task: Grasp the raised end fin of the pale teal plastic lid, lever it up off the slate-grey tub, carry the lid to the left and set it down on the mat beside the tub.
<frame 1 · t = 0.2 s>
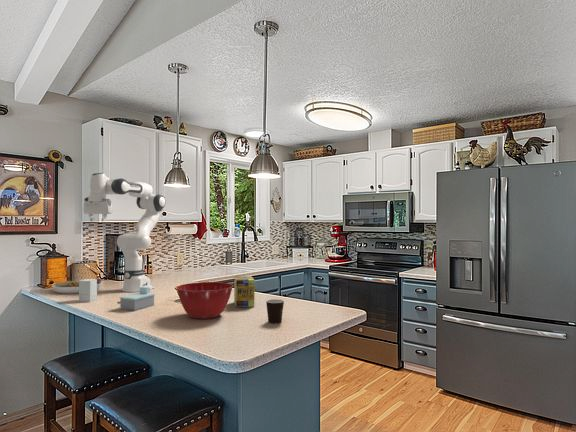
hand: (97, 221, 241), 48 cm above the countertop, fingers open, 8 cm apart
bowl: (77, 291, 269), on the countertop
block a: (140, 305, 221), point 1 cm above the countertop, touching tub
mat: (134, 301, 234), on the countertop
protein box: (244, 305, 227), on the countertop
tub: (137, 307, 219), on the countertop
block b: (134, 307, 216), point 1 cm above the countertop, touching tub
supplement box: (87, 301, 235), on the countertop
lid: (137, 296, 219), point 6 cm above the countertop, touching tub
mixing bowl: (204, 316, 201), on the countertop
coffee mug: (276, 321, 191), on the countertop
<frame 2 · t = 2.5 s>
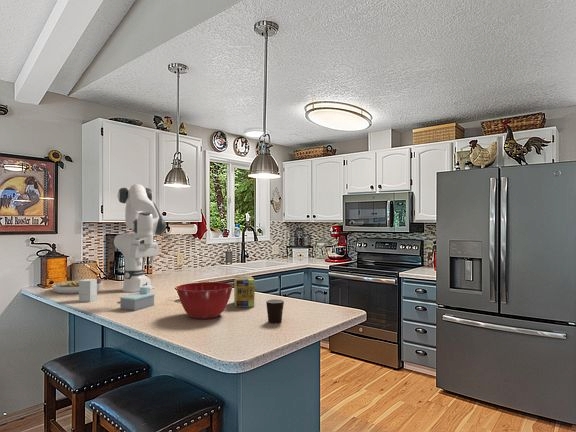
hand: (144, 264, 224), 23 cm above the countertop, fingers open, 8 cm apart
nothing on the countertop moved.
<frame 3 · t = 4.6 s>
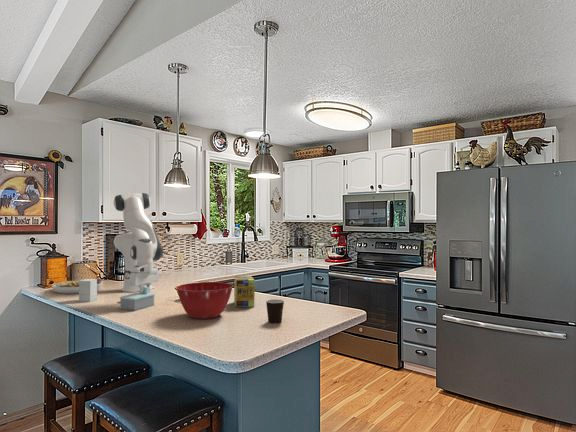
hand: (144, 291, 224), 8 cm above the countertop, fingers closed on lid, 2 cm apart
lid: (137, 296, 219), point 6 cm above the countertop, touching gripper, tub
everything else where it was.
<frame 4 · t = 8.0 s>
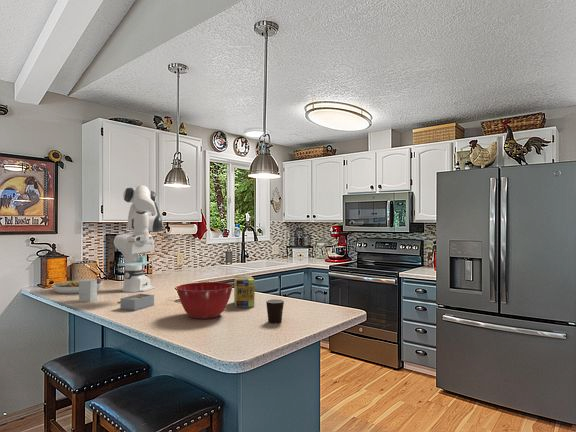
hand: (140, 260, 238), 24 cm above the countertop, fingers closed on lid, 2 cm apart
lid: (134, 264, 233), point 22 cm above the countertop, touching gripper
everything else where it was.
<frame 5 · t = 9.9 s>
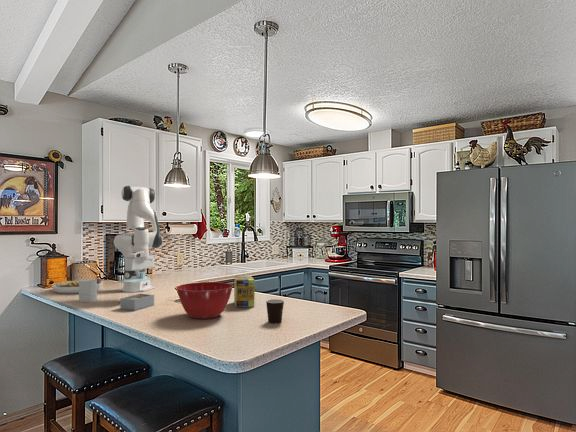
hand: (140, 276, 239), 14 cm above the countertop, fingers closed on lid, 2 cm apart
lid: (134, 280, 234), point 12 cm above the countertop, touching gripper
everything else where it was.
when the fingers open (7 cm above the countertop, at t = 11.2 s): lid drops 5 cm, resting on mat.
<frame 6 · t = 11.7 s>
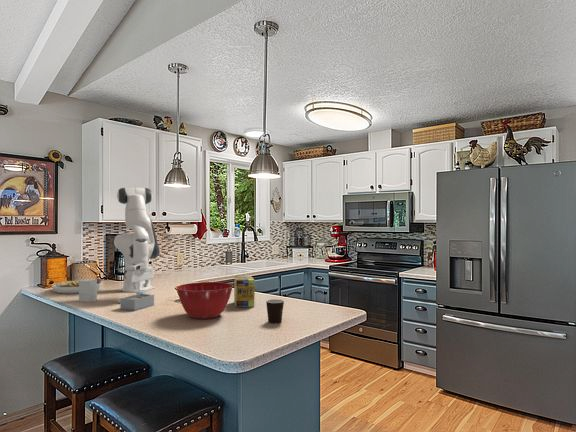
hand: (140, 288, 239), 7 cm above the countertop, fingers open, 7 cm apart
lid: (134, 300, 234), point 1 cm above the countertop, touching mat
everything else where it was.
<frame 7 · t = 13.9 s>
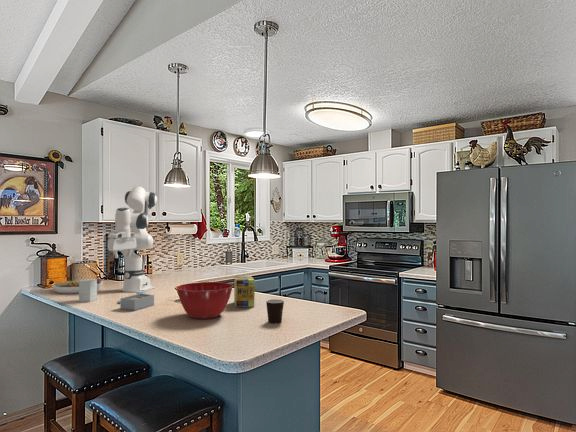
hand: (122, 257, 238), 26 cm above the countertop, fingers open, 8 cm apart
nothing on the countertop moved.
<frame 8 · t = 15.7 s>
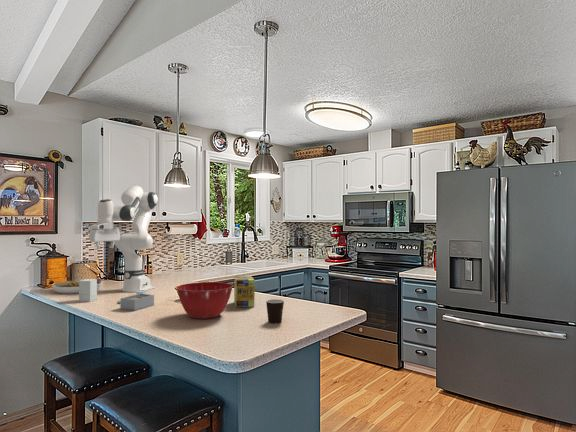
hand: (105, 248, 237), 31 cm above the countertop, fingers open, 8 cm apart
nothing on the countertop moved.
at the end: lid inside the target area (2.1 cm from its centre), point 0.6 cm above the countertop; lid touching mat; the gripper is holding nothing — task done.
